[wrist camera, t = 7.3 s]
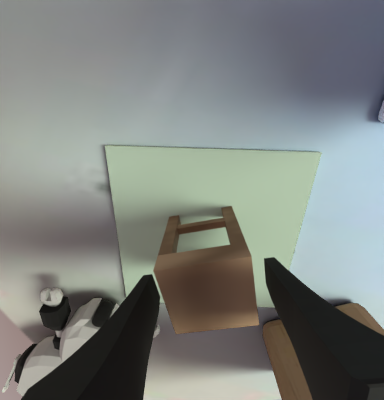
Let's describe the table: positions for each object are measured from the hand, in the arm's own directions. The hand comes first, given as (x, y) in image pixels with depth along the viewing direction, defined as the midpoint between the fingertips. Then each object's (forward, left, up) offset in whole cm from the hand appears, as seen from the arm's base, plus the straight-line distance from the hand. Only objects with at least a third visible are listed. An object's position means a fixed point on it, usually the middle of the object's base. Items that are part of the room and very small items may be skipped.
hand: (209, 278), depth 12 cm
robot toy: (+12, +13, -5) cm, 19 cm away
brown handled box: (0, 0, -4) cm, 4 cm away
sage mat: (0, 0, -5) cm, 5 cm away
